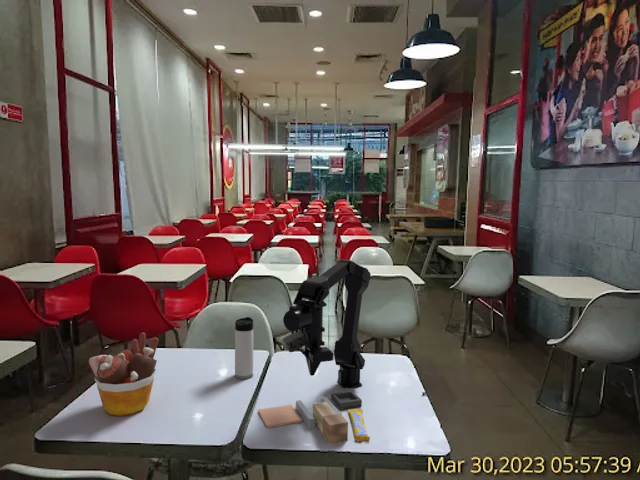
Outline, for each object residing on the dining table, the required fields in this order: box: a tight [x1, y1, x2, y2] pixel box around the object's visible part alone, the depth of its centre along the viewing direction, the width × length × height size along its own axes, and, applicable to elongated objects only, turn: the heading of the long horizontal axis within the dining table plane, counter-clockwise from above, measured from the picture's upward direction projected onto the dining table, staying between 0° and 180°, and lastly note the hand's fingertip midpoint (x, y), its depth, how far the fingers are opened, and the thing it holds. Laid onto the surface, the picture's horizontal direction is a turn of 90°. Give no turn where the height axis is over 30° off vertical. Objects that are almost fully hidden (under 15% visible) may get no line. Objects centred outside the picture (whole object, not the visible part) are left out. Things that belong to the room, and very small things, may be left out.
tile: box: [257, 404, 303, 428], centre depth 130 cm, size 10×10×1 cm
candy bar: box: [347, 408, 371, 442], centre depth 125 cm, size 17×4×2 cm, turn 2°
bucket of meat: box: [88, 332, 160, 417], centre depth 133 cm, size 20×16×20 cm
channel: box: [295, 396, 343, 429], centre depth 130 cm, size 10×12×2 cm
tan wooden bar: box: [312, 401, 336, 433], centre depth 125 cm, size 4×9×4 cm, turn 20°
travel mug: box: [234, 316, 254, 380], centre depth 158 cm, size 6×7×20 cm
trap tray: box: [330, 390, 363, 411], centre depth 139 cm, size 7×7×2 cm
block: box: [322, 413, 349, 445], centre depth 119 cm, size 5×5×5 cm
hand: (312, 375), depth 135 cm, fingers closed
